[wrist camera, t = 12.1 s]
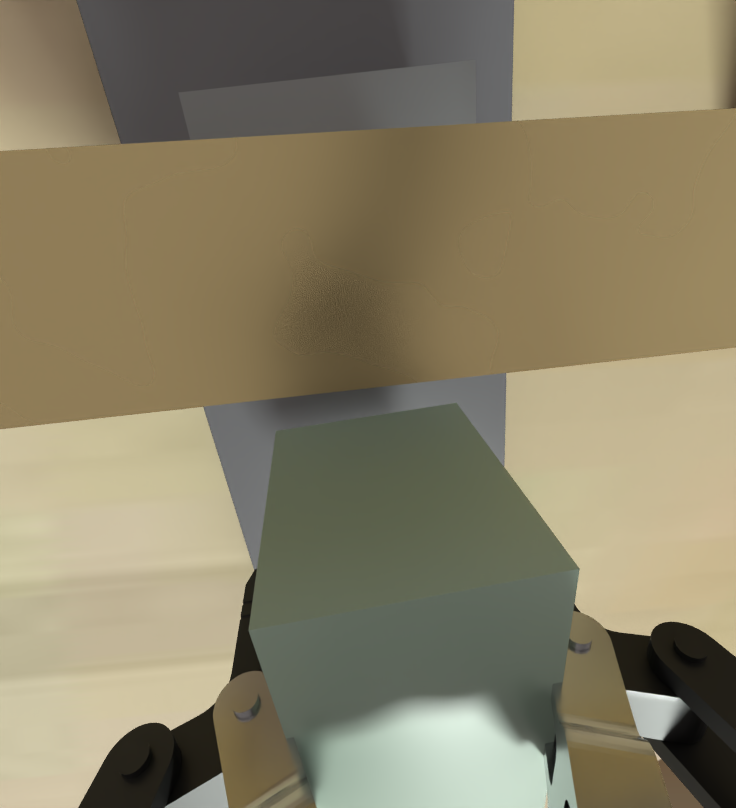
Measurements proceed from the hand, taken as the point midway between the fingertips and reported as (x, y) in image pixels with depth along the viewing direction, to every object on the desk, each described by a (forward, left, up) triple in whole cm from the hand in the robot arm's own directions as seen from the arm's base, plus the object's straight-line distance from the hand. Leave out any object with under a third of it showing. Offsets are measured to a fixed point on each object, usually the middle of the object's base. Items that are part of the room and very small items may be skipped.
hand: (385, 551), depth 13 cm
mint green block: (0, 0, -1) cm, 1 cm away
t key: (-9, 0, -1) cm, 9 cm away
